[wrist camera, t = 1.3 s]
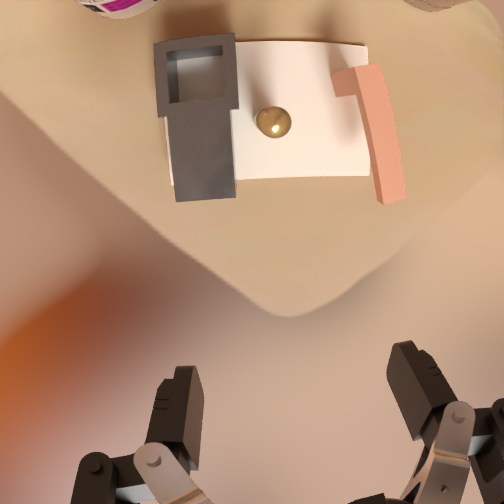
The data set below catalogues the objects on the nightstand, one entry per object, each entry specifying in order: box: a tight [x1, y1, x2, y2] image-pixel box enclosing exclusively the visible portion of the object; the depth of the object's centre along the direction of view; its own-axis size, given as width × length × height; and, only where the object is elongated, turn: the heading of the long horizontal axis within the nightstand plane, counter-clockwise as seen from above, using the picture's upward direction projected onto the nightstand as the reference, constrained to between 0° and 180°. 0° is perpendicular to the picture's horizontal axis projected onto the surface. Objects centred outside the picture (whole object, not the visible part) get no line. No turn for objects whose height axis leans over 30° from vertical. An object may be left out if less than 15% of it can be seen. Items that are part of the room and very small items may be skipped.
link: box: [153, 33, 240, 202], centre depth 22 cm, size 12×6×4 cm, turn 3°
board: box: [164, 41, 370, 185], centre depth 24 cm, size 12×18×1 cm
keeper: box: [330, 63, 407, 205], centre depth 22 cm, size 10×2×6 cm, turn 17°
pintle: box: [254, 106, 292, 138], centre depth 21 cm, size 2×2×8 cm
